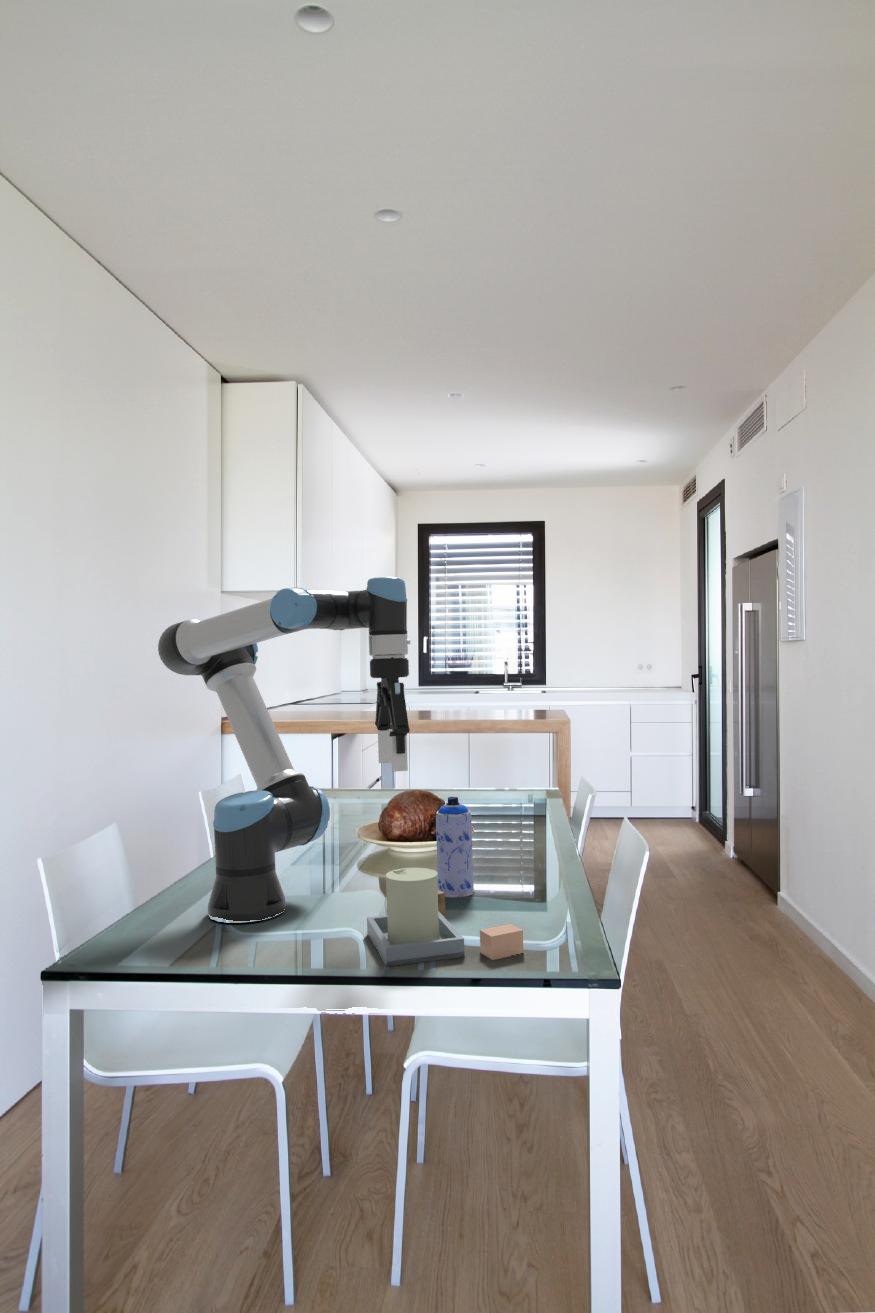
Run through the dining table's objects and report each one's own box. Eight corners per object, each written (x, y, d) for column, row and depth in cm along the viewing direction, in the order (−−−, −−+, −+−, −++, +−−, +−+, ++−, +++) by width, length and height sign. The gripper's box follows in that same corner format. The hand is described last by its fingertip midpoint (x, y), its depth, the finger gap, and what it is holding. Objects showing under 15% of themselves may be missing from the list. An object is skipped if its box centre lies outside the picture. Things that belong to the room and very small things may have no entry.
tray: (464, 956, 142) (463, 938, 142) (386, 966, 138) (385, 948, 138) (437, 926, 158) (437, 909, 158) (367, 934, 155) (366, 917, 155)
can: (410, 928, 155) (408, 862, 155) (450, 937, 149) (448, 869, 149) (376, 942, 148) (373, 873, 148) (416, 953, 142) (414, 881, 142)
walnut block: (422, 924, 160) (421, 897, 160) (409, 917, 164) (408, 891, 164) (445, 919, 163) (444, 893, 163) (432, 913, 167) (431, 887, 167)
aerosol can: (481, 890, 182) (478, 795, 182) (461, 899, 175) (458, 801, 175) (450, 885, 186) (447, 793, 186) (430, 894, 180) (426, 799, 180)
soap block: (492, 961, 140) (491, 936, 140) (480, 953, 144) (479, 929, 144) (523, 954, 143) (522, 930, 143) (511, 947, 146) (510, 923, 146)
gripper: (423, 656, 155) (427, 773, 155) (394, 657, 179) (397, 758, 179) (382, 657, 153) (386, 776, 153) (359, 658, 177) (362, 760, 177)
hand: (392, 766), depth 166 cm, fingers open, 13 cm apart
